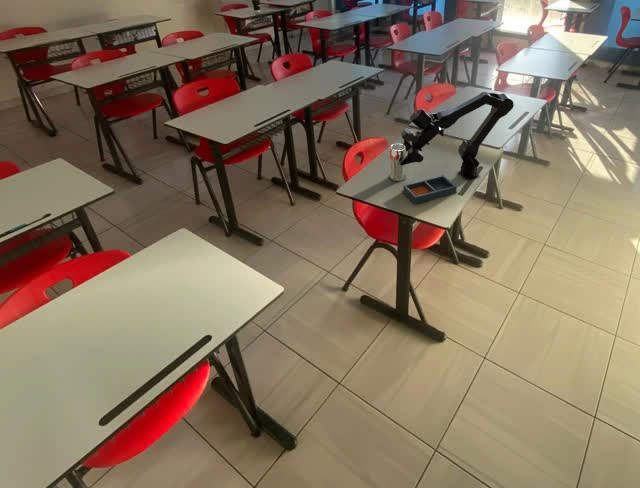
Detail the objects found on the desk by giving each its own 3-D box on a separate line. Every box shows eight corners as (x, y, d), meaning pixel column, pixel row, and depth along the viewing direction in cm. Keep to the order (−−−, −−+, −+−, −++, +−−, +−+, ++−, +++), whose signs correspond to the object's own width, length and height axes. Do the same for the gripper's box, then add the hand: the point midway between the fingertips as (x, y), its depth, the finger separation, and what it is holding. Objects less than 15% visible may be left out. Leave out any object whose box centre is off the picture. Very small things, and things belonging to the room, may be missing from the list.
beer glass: (407, 175, 184) (408, 145, 176) (401, 183, 178) (402, 152, 171) (393, 172, 186) (393, 142, 179) (386, 179, 181) (387, 148, 173)
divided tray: (442, 181, 180) (443, 175, 178) (455, 192, 172) (456, 186, 171) (403, 191, 173) (403, 185, 171) (414, 204, 165) (415, 197, 164)
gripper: (410, 114, 177) (384, 138, 182) (416, 132, 162) (388, 158, 166) (427, 130, 182) (401, 153, 187) (435, 150, 166) (407, 174, 171)
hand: (399, 159), depth 178 cm, fingers open, 9 cm apart
